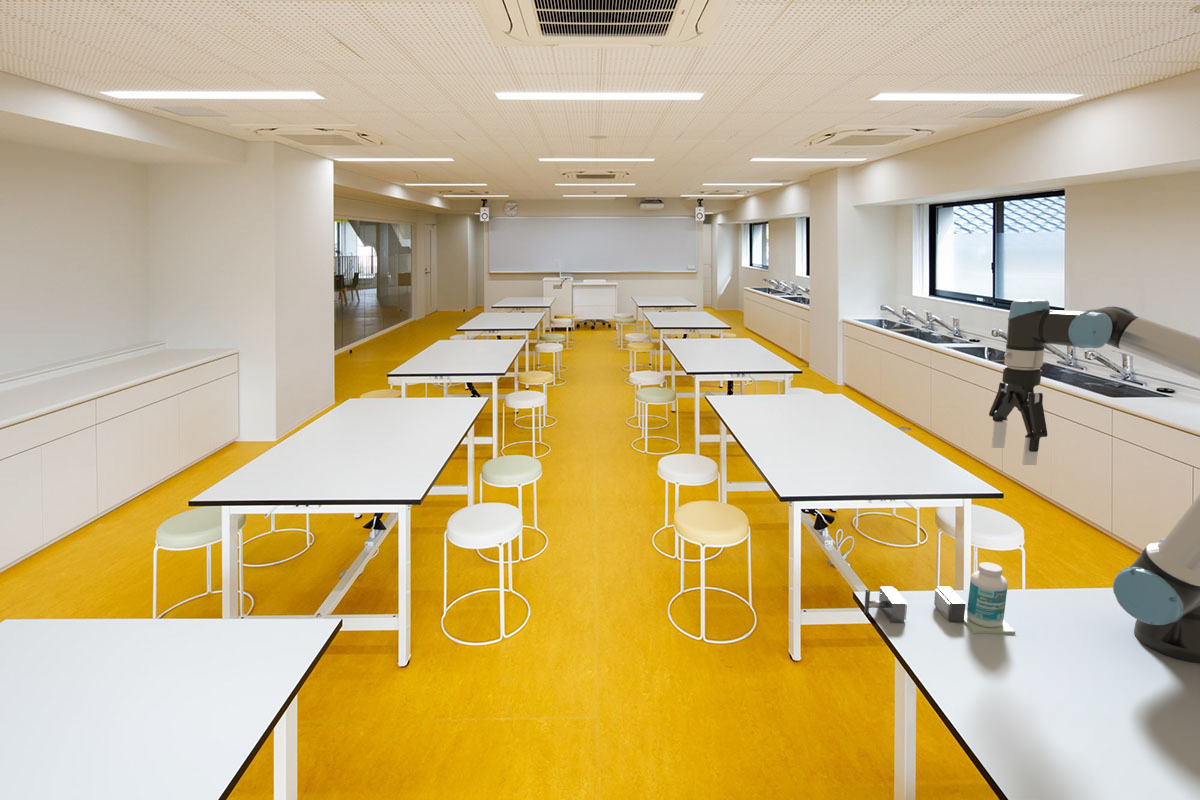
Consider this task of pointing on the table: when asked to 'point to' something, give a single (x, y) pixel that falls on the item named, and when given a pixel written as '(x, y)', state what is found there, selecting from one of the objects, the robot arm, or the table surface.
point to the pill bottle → (987, 595)
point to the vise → (897, 606)
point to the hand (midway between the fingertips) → (1012, 455)
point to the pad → (979, 629)
